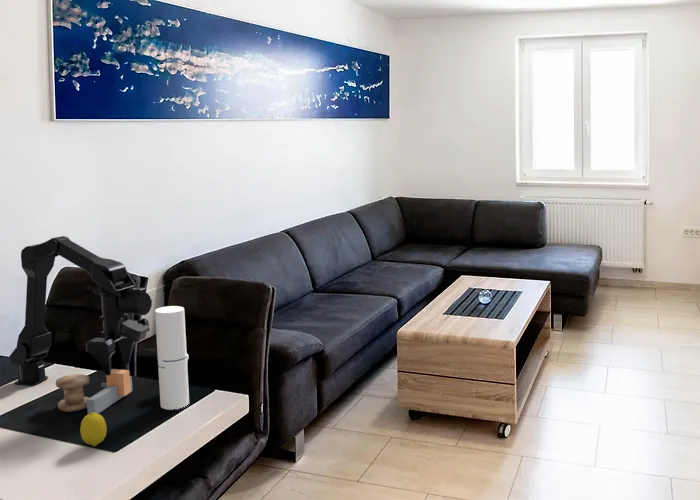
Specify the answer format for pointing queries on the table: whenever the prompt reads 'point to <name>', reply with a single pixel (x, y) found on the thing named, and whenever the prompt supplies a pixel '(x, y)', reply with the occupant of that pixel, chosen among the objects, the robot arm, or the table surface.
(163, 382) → the cylindrical container
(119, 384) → the orange block
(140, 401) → the table surface
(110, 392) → the notch board
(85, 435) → the lemon
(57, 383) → the bobbin
